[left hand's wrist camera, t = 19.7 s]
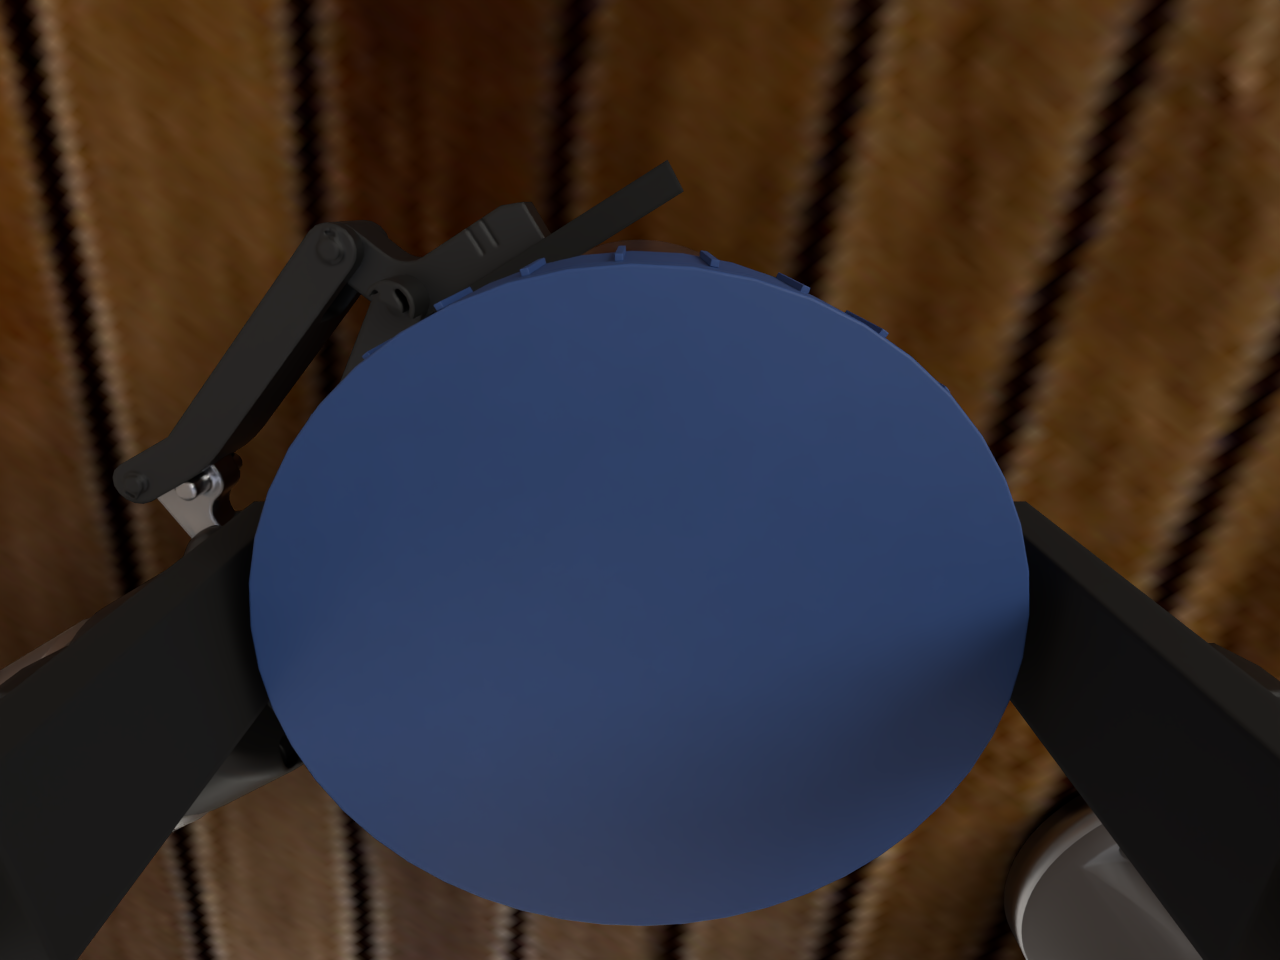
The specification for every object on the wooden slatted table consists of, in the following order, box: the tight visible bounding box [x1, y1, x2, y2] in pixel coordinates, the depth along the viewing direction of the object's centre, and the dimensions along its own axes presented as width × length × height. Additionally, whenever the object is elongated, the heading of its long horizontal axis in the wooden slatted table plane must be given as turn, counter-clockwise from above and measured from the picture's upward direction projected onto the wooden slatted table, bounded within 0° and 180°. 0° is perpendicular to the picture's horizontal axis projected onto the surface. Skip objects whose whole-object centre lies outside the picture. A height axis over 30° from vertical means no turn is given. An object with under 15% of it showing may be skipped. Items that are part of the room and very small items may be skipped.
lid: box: [249, 246, 1029, 926], centre depth 11 cm, size 11×12×2 cm
